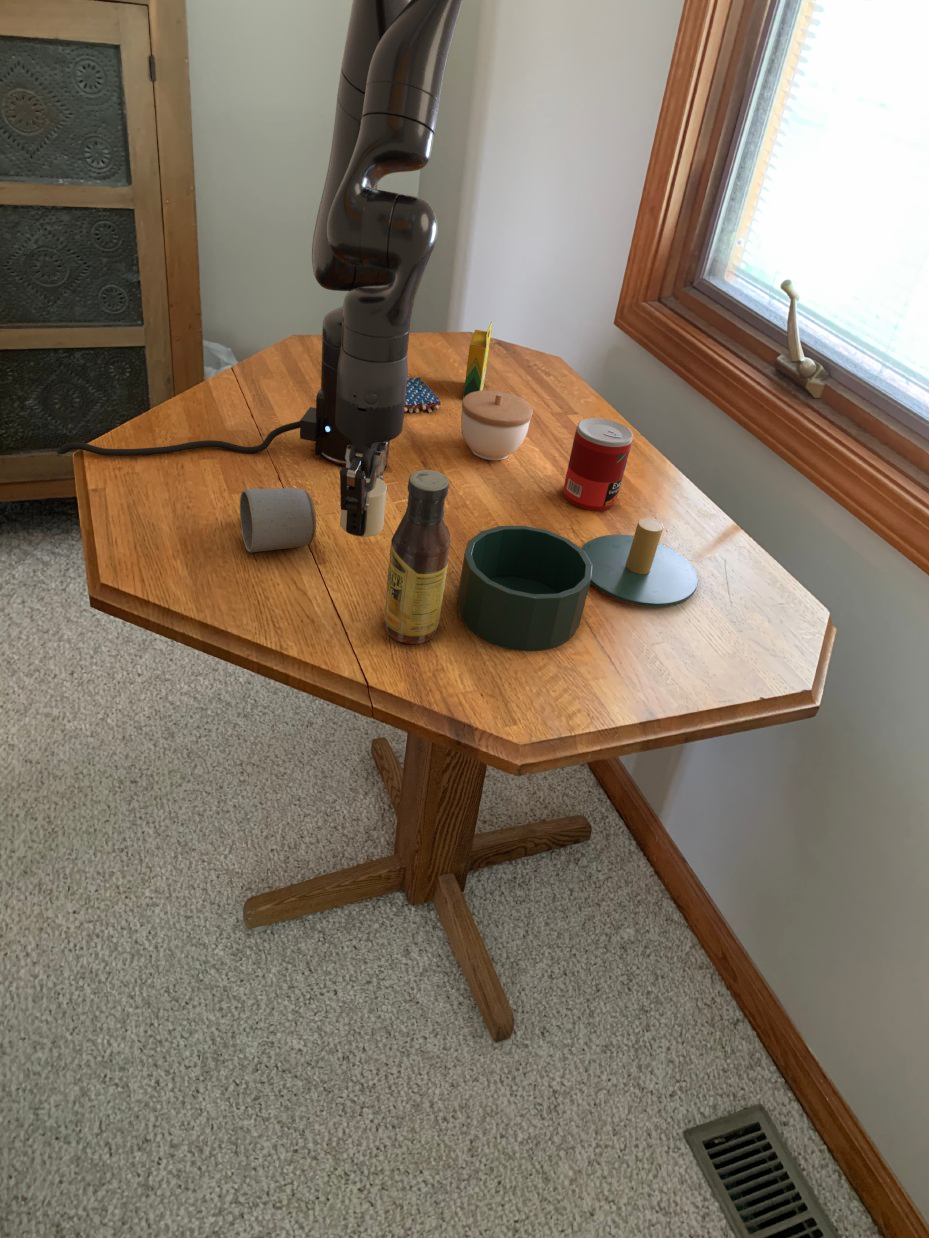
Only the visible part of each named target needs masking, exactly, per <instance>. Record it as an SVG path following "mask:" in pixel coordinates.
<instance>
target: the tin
mask: <svg viewBox="0 0 929 1238" xmlns="http://www.w3.org/2000/svg"><path fill="white" fill-rule="evenodd" d="M581 548H582V547H581ZM581 548H580V547H579V546H578V545H577V544H575V543H574V542H573V541H571V540H570V539H569V538H567V537H565V536H563V535H560V534H557V533H555V532H554V531H550V530H548V529H545V528H538V527H534V526H528V525H497V526H494V527H491V528H487V529H484V530H481V531H479V532H478V533H477V534H475V536H473V537H472V538H470V539H468V542H467V545H466V548H465V552H464V554H463V561H462V568H461V574H460V581H459V586H458V587H459V588H458V594H457V600H456V605H457V611H458V614H459V618H460V619H461V620H462V622H463V624H464V625H465V626H466V627H467V628H468V629H469V630H470V631H471V632H472V633H474V634H475V635H477V636H478V637H479V638H480V639H483V640H484V641H486V642H489V643H491V644H492V645H496V646H498V647H502V648H505V649H510V650H515V651H522V652H523V651H524V652H539V651H540V652H541V651H546V650H552V649H554V648H557V647H560V646H561V645H564V644H565V643H567V642H568V641H569V640H571V639H572V638H573V637H574V636H575V634H576V632H577V630H578V629H579V628H580V624H581V620H582V617H583V612H584V609H585V606H586V601H587V598H588V595H589V594H588V593H589V590H590V586H591V584H590V582H591V576H592V564H591V562H590V561H589V559H588V557H587V555H586V554H585V552H584V551H583V550H582V549H581Z"/></svg>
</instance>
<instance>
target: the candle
mask: <svg viewBox="0 0 929 1238" xmlns="http://www.w3.org/2000/svg"><path fill="white" fill-rule="evenodd" d="M369 481H370V479H368V478H365V482H367V483H369ZM387 490H388V487H387V484H386V482H385V481H383V480H381V479H379V478H377V479H376V485H375V488H374V489H373V490H372V491H370V495H369V502H368V504H369V506H368V508H367V521H366V531H365V533H364V535H363V536H357V535H352V534H350V535H351V536H354V537H359V538H368V537H373V536H376V535H378V534H380V533H381V532H382V531H383V529H384V524H385V523H384V522H385V513H386V503H387V502H386V501H387ZM339 517H340V518H339V520H340V521H339V525H340V528H341V529H342V530H343V531H344V532H345V533H347V531H346V522H347V510H341V509H340V516H339Z"/></svg>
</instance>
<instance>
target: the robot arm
mask: <svg viewBox="0 0 929 1238" xmlns="http://www.w3.org/2000/svg"><path fill="white" fill-rule="evenodd" d="M463 4H464V0H352V3H351V9H350V14H349V15H350V16H349V22H348V27H347V32H346V37H345V43H344V48H343V54H342V60H341V67H340V75H339V82H338V89H337V94H336V104H335V115H334V123H333V131H332V132H333V133H332V140H331V146H330V147H331V148H330V154H329V162H328V166H327V172H326V176H325V180H324V185H323V190H322V194H321V198H320V202H319V207H318V211H317V216H316V221H315V225H314V230H313V235H312V236H313V237H312V245H311V265H312V271H313V275H314V278H315V280H316V282H317V283H318V284H319V285H320V287H322V288H323V289H325V290H329V291H333V292H334V291H335V292H336V291H337V292H347V293H346V295H345V296H344V299H343V304H342V305H341V306H338V307H336V308H333V309H332V310H330V311H329V312H327V313H326V315H324V318H323V320H322V331H321V332H322V334H321V335H322V337H321V375H320V376H321V377H320V389H319V390H318V391H317V393H316V396H315V397H316V399H315V407H312V406H309V408H308V409H307V411H306V412H305V413H304V415H302V417H301V418H300V419H299V420H298V421H294V422H290V423H286V424H284V425H281V426H279V427H276V428H274V429H273V430H271V431H270V432H269V433H268V434H267V436H266V437H265V439H264V440H263V441H262V442H261V443H260V444H258V445H255V446H244V445H238V444H236V443H235V444H234V443H231V442H226V441H222V440H216V439H215V440H214V439H212V440H211V439H210V440H207V439H206V440H196V441H190V442H183V443H179V444H173V445H166V446H165V445H164V446H156V447H142V448H140V447H139V448H107V447H99V446H96V445H92V444H90V443H86V442H81V441H72V442H71V441H70V442H67V443H66V444H65V443H64V444H63V445H62V446H60V447H59V448H58V450H57V451H56V454H57V455H65V454H67V453H69V452H70V451H72V450H80V451H83V452H84V451H85V452H88V453H91V454H95V455H99V456H105V457H141V456H155V455H166V454H173V453H179V452H185V451H189V450H190V451H191V450H195V449H204V448H217V449H224V450H228V451H230V452H231V451H232V452H236V453H241V454H258V453H261V452H263V451H265V450H266V449H268V448H269V446H270V445H271V444H272V442H273V440H275V438H276V437H278V436H280V435H282V434H285V433H286V432H289V431H293V430H296V429H299V439H300V440H304V441H308V442H309V441H310V442H314V455H315V456H319V457H322V458H323V459H324V460H325V461H328V462H329V463H332V464H336V465H339V466H341V468H340V470H339V480H340V481H339V487H340V488H339V491H340V492H339V493H340V505H339V506H340V511H341V510H347V522H346V531H347V532H346V533H347V534H349V535H351V534H352V535H351V536H354V535H357V536H356V537H359V536H363V535H364V533H365V531H366V521H367V508H368V506H369V504H368V502H369V495H370V491H372V490H373V489H374V488H375V485H376V479H377V478H379V479H381V480H382V481H383V480H384V472H386V470H387V469H388V459H389V451H390V443H391V441H392V440H394V439H396V438H398V437H399V436H400V435H401V433H402V431H403V428H404V418H405V412H404V408H405V398H406V388H407V378H408V379H409V377H408V376H409V368H408V352H409V342H410V341H409V340H410V332H411V331H410V329H411V321H412V314H413V311H414V310H413V309H414V305H415V301H416V297H417V295H418V292H419V291H418V290H419V288H420V285H421V282H422V279H423V277H424V274H425V272H426V269H427V267H428V265H429V263H430V260H431V258H432V255H433V252H434V249H435V246H436V245H437V244H436V243H437V240H438V234H439V223H438V218H437V215H436V213H435V210H434V209H433V207H432V205H431V204H430V202H428V200H426V199H424V198H422V197H419V196H416V195H411V194H405V193H399V192H393V191H387V190H382V189H376V186H377V185H378V184H379V182H380V181H381V180H382V179H383V178H384V177H385V176H387V175H391V174H396V173H397V174H398V173H408V172H415V171H419V170H422V169H424V168H425V167H427V165H428V164H429V162H430V159H431V156H432V151H433V147H434V141H435V133H436V128H437V121H438V116H439V110H440V103H441V96H442V95H441V94H442V89H443V82H444V79H445V78H444V77H445V73H446V67H447V62H448V58H449V55H450V49H451V46H452V42H453V40H454V36H455V33H456V32H455V31H456V27H457V24H458V22H459V17H460V13H461V11H462V8H463ZM365 478H368V479H370V481H369V483H367V482H365Z"/></svg>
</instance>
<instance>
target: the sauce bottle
mask: <svg viewBox="0 0 929 1238" xmlns="http://www.w3.org/2000/svg"><path fill="white" fill-rule="evenodd" d="M449 487H450V481H449V478H448V477H447V476H446V475H445V474H444V473H441V472H439V471H436V470H434V469H433V470H432V469H420V470H417V471H414V472H412V473H411V474H410V475H409V477H408V482H407V493H408V496H407V507H406V508H405V513H404V515H403V516H402V518H401V520H400V522H399V524H398V525H397V528H396V530H395V532H394V534H393V536H392V537H391V543H390V550H389V562H388V569H387V570H388V571H387V580H386V581H387V582H386V591H385V592H386V593H385V602H384V603H385V604H384V613H383V616H384V628H385V631H386V632H387V633H388V635H389V636H390V637H391V639H393V640H394V641H397V642H399V643H403V644H408V645H420V644H423V643H426V642H430V641H431V640H432V639H433V638H434V637H435V635H436V634H437V633H436V632H437V630H438V626H439V624H440V620H441V612H442V606H443V600H444V592H445V587H446V579H447V573H448V568H449V567H448V566H449V552H450V547H451V533H450V530H449V528H448V526H447V525H446V522H445V521H444V517H445V511H444V509H445V501H446V498H447V496H448V494H449Z"/></svg>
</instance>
